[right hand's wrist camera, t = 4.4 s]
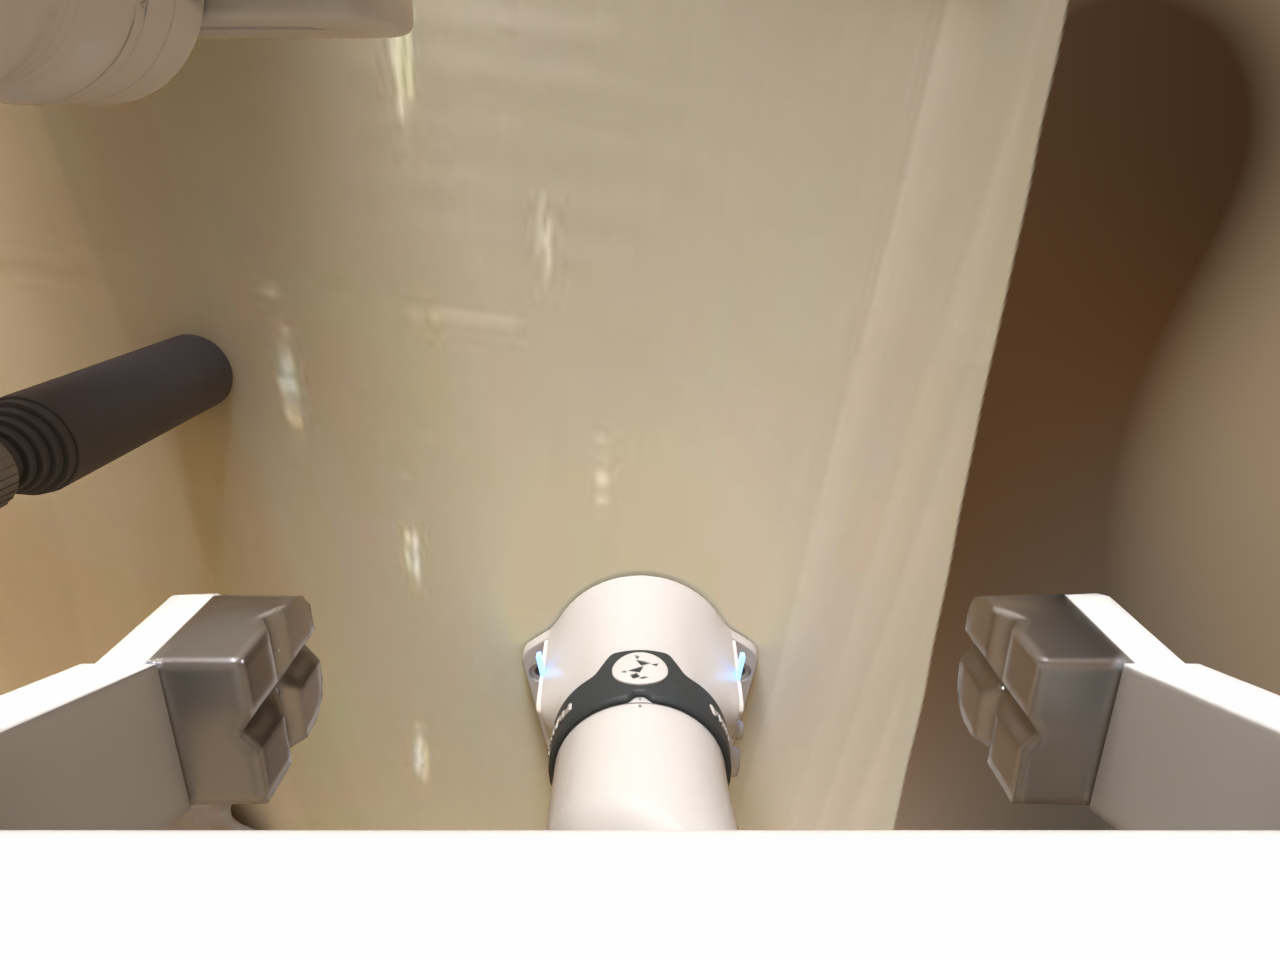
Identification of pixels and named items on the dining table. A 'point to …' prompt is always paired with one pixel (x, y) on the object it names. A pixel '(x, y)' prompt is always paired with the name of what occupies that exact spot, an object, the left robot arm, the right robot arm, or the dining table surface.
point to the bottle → (109, 409)
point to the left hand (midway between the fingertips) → (218, 4)
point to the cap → (7, 476)
